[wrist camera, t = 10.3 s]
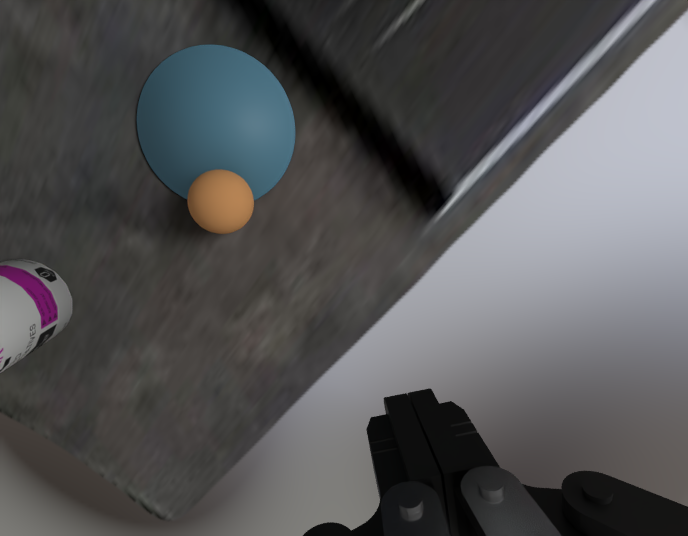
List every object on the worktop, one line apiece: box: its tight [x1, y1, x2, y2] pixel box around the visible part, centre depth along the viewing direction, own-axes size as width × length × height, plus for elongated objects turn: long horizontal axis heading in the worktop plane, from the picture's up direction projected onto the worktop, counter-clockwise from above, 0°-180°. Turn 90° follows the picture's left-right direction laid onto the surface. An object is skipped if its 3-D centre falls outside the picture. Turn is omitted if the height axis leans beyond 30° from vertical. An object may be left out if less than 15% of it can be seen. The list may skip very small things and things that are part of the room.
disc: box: [137, 45, 295, 200], centre depth 37 cm, size 14×14×1 cm
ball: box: [187, 169, 254, 234], centre depth 36 cm, size 6×6×6 cm
